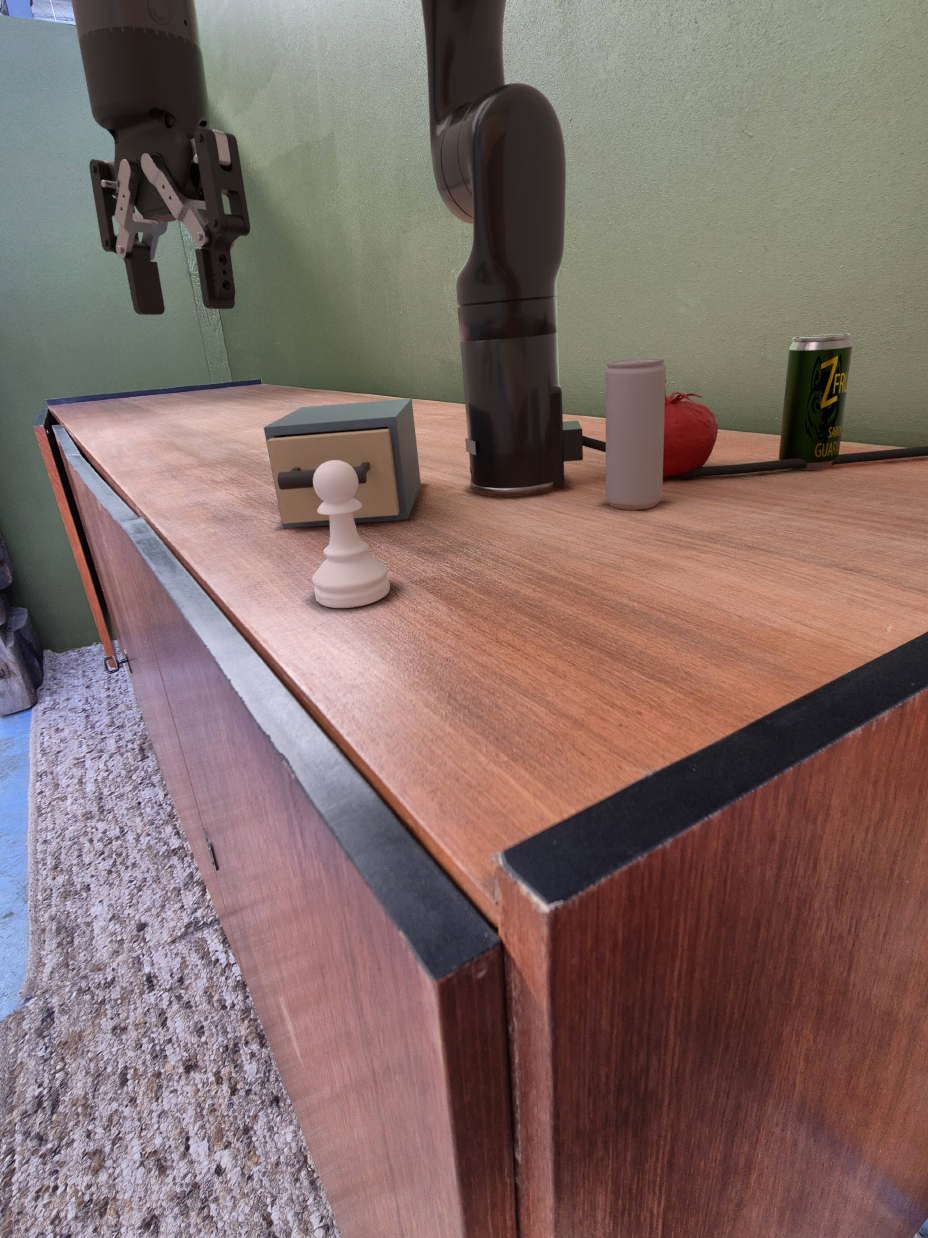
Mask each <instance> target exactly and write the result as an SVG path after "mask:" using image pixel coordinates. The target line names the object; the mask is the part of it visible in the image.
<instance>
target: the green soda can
mask: <svg viewBox="0 0 928 1238" xmlns="http://www.w3.org/2000/svg"><path fill="white" fill-rule="evenodd" d="M850 338H852V333H843V332H842V333H820V334H819V333H817V334H807V335H798V336H793V337H792V339H791V340H792V343H791V344H790V346H789V348H788V355H787V365H786V374H785V387H784V398H783V407H782V417H781V418H782V419H781V420H782V421H781V428H780V429H781V431H780V440H779V451H778V460H786V459H796V458H799V459H802V460H804V461H805V462H806V463H807V466H806V467H805V468H795V469H794V470H796V471H797V470H799V471H818V470H826V469H830V468H833V467H834V466H835V465H832V462H833V461H834V460H835V458H836V456H837V455H839V454H840V450H841V449H840V447H841V441H842V432H843V425H844V424H843V423H844V416H845V407H846V400H847V392H848V385H849V375H850V368H851V360H852V353H853V352H852V351H853V344H852V340H851V339H850Z"/></svg>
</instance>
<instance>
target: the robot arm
mask: <svg viewBox="0 0 928 1238" xmlns="http://www.w3.org/2000/svg"><path fill="white" fill-rule="evenodd" d="M506 5H507V0H420V7H421V13H422V14H421V15H422V22H423V30H424V42H425V55H426V56H425V57H426V77H427V78H426V79H427V101H428V102H427V103H428V105H427V106H428V127H429V128H428V131H429V153H430V163H431V170H432V176H433V180H434V184H435V188H436V190H437V192H438V195H439V197H440V199H441V201H442V202H443V204H444V205H445V207H446V208H447V210H448V211H449V212H450V213H451V215H453V216H454V217H455V218H456V219H458V221H461V222H462V223H465V224H467V225H472V243H471V247H470V251H469V254H468V257H467V259H466V260H465V262H464V264H463V266H462V267H461V268H460V270H459V271H458V273H457V275H456V279H455V292H456V293H455V294H456V304H457V317H458V318H457V319H458V331H459V341H460V356H461V368H462V381H463V394H464V395H463V396H464V408H465V420H466V433H467V437H465V438H464V440H465V441H464V442H465V451H466V452H467V453H468V458H469V474H470V481H469V483H470V489H471V491H473V492H474V493H477V494H480V495H485V496H494V497H514V496H515V497H516V496H525V495H526V496H527V495H533V494H540V493H545V492H549V491H551V490H560V489H565V487H566V486H565V462H580V461H583V460H584V447H585V448H588V449H592V450H596V451H600V452H602V453H605V454H606V441H603V440H600V439H596V438H592V437H589V436H586V435H583V427H582V425H581V424H580V421H579V420H566V421H565V420H564V415H563V389H562V386H561V385H560V364H559V363H560V362H559V359H560V358H559V333H558V332H559V327H558V326H559V325H558V324H559V323H558V298H557V296H558V289H557V287H558V285H557V284H558V278H559V274H560V271H561V268H562V265H563V262H564V256H565V249H566V211H567V210H566V209H567V160H566V159H567V156H566V155H567V154H566V146H565V145H566V144H565V138H564V133H563V129H562V126H561V123H560V119H559V117H558V114H557V112H556V110H555V108H554V106H553V104H552V102H550V100H549V99H548V97H546V94H544V93H543V92H542V91H540V90H539V89H538V88H537V87H534V86H532V85H530V84H527V83H523V82H510V83H506V77H505V64H504V45H503V43H504V42H503V41H504V40H503V38H504V21H505V12H506ZM71 7H72V12H73V17H74V22H75V26H76V27H75V29H76V33H77V34H76V35H77V39H78V45H79V51H80V55H81V60H82V61H81V62H82V66H83V71H84V77H85V82H86V83H85V84H86V89H87V93H88V99H89V104H90V110H91V115H92V117H93V120H94V121H95V122H96V123H97V125H99V127H101V128H102V129H104V130H106V131H107V132H108V133H109V134H110V135H111V137H112V138H113V141H114V143H113V144H114V159H113V160H111V161H110V160H109V161H108V160H105V159H104V160H102V159H101V160H100V159H95V158H92V159H90V161H89V166H88V167H89V176H90V180H91V186H92V194H93V200H94V205H95V213H96V217H97V225H98V230H99V237H100V243H101V246H102V249H103V250H104V251H105V252H107V253H114V254H115V255H117V256H118V258H119V259H121V260H123V262H124V266H125V270H126V277H127V281H128V282H127V283H128V285H129V291H130V298H131V301H132V307H133V310H134V312H135V313H136V314H137V315H140V316H161V315H164V313H165V311H166V309H165V308H166V307H165V302H164V295H163V290H162V284H161V278H160V277H161V276H160V271H159V265H158V261H154V260H155V257H156V252H157V248H158V243H159V240H160V237H161V236H163V235H164V234H165V233H166V232H167V230H168V224H169V223H171V222H175V221H179V222H180V223H182V224H183V225H184V227H185V228H186V230H187V231H188V234H190V236H191V238H192V240H193V241H194V244H196V246H198V247H199V248H196V249H194V251H195V257H196V265H197V272H198V279H199V285H200V292H201V299H202V304H203V306H204V307H205V308H206V309H208V310H231V309H233V308H234V307H235V305H236V300H235V298H236V287H235V278H234V270H233V262H232V254H231V250H232V249H234V246H235V242H236V240H237V239H239V237H248V235H249V234H250V231H251V222H250V216H249V210H248V203H247V197H246V190H245V186H244V185H245V184H244V177H243V170H242V165H241V159H240V151H239V146H238V140H237V137H236V136H235V135H234V134H233V133H230V132H226V131H221V130H218V129H214V128H211V126H212V116H211V110H210V101H209V94H208V87H207V80H206V72H205V64H204V57H203V50H202V42H201V35H200V34H201V33H200V27H199V20H198V19H199V18H198V12H197V6H196V0H71ZM223 195H224V196H226V198H227V199H228V203H229V211H230V213H225V208H224V202H223ZM136 210H137V212H138V213H136ZM113 217H114V219H115V220H116V221H117V223H118V224H119V226H118V233H117V234H115V227H114V221H113ZM139 233H142V236H141V241H140V237H139ZM921 457H922V458H923V457H928V445H925V446H914V447H913V446H912V447H902V448H894V449H882V450H873V451H872V450H871V451H862V452H849V453H839V455H837V456H836V458H835V460H834V461H833V462H832V465H834V466H836V465H847V464H858V463H866V462H867V463H869V462H877V461H879V462H880V461H888V460H899V459H910V458H911V459H912V458H921ZM806 466H807V463H806V462H805V461H804V460H802V459H799V458H796V459H786V460H779V459H778V460H777V459H776V460H769V461H759V462H748V463H736V464H724V465H723V464H720V465H719V464H718V465H708V466H703V467H699V468H696V469H693V470H691V471H689V472H687V473H684V474H680V475H677V476H673V477H667V478H663V481H680V480H681V481H683V480H691V479H697V478H704V477H715V476H716V477H717V476H733V475H744V474H754V473H763V472H764V473H765V472H773V471H784V470H796V469H795V468H805V467H806Z"/></svg>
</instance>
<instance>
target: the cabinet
mask: <svg viewBox="0 0 928 1238" xmlns="http://www.w3.org/2000/svg"><path fill="white" fill-rule="evenodd" d="M414 416H415V415H414V406H413V398H411V397H410V398H408V397H407V398H398V399H397V398H395V399H385V400H373V401H362V402H347V403H336V404H326V405H324V404H323V405H312V406H301V407H299V408H298V409H295V410H294V411H292V412H290V413H288V414H286V415H284V416H283V417H280V418H279V419H276V420H275V421H272V422H271V423H269V424H267V425H266V426H264V427H263V432H264V436H265V437H264V438H265V442H266V447H267V453H268V458H269V463H270V468H271V474H272V475H273V471H272V466H271V461H270V455H269V450H268V445H267V440H269V439H271V438H281V437H285V436H287V435H291V434H303V433H316V432H328V431H341V430H353V429H366V428H378V427H388V429H389V430H390V438H391V446H392V454H393V462H394V471H395V479H396V487H397V495H398V504H399V514H398V515H395V516H381V517H367V518H354V522H355V524H365V523H377V522H378V523H379V522H392V521H393V522H394V521H402V520H403V521H406V520H409V517H410V515H411V513H412V509H413V506H414V504H415V502H416V499H417V496H418V493H419V492H420V489H421V486H422V481H421V473H420V472H421V471H420V463H419V462H420V461H419V454H418V444H417V435H416V426H415V425H416V424H415V417H414ZM272 479H273V485H274V490H275V495H276V499H277V506H278V510H279V517H280V522H281V527H282V529H295V528H311V527H321V526H322V527H324V526H330V521H329V520H326V521H312V522H298V523H284V524H283V523H282V519H281V513H280V508H279V503H278V498H277V492H276V487H275V482H274V477H273V476H272Z"/></svg>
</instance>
